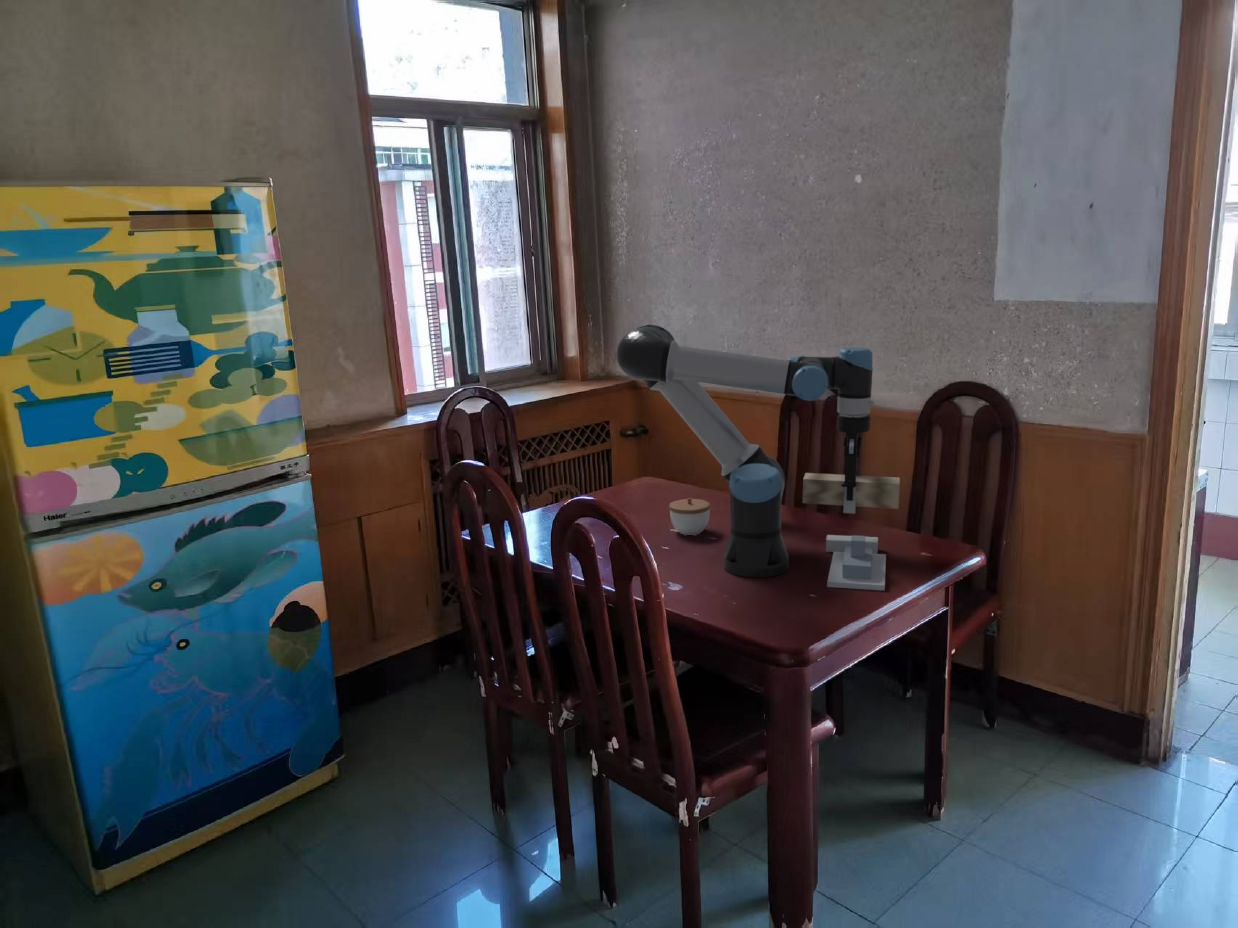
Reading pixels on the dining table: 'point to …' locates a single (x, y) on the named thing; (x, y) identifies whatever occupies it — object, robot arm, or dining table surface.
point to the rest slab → (839, 543)
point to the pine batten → (867, 490)
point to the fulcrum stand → (857, 567)
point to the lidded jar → (690, 515)
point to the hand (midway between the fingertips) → (849, 508)
